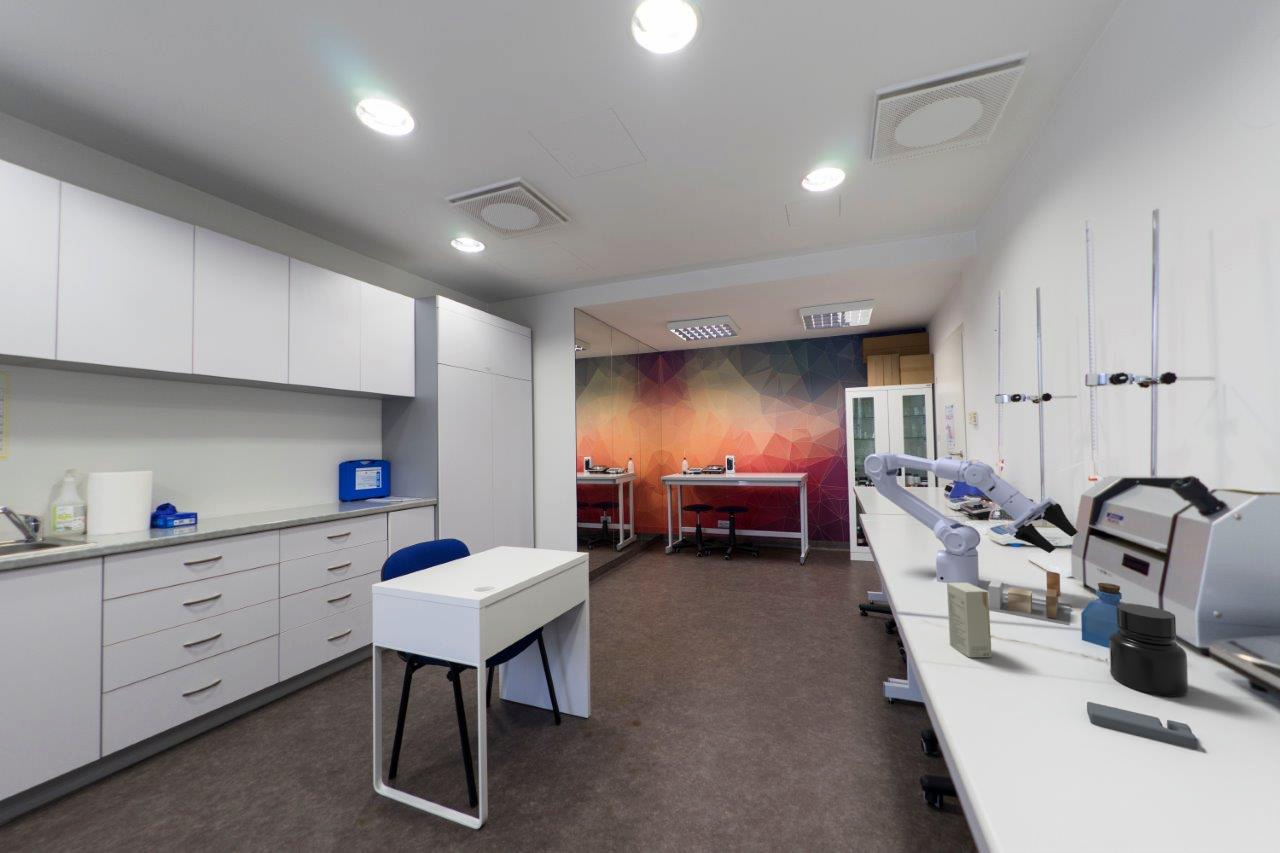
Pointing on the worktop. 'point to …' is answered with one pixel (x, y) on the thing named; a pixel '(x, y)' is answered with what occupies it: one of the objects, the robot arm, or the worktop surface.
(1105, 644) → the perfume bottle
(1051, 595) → the press jaw
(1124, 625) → the ink bottle
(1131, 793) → the worktop surface
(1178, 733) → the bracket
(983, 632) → the skincare box
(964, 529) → the robot arm
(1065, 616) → the press base
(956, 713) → the worktop surface
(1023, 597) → the birch cube
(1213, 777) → the worktop surface
